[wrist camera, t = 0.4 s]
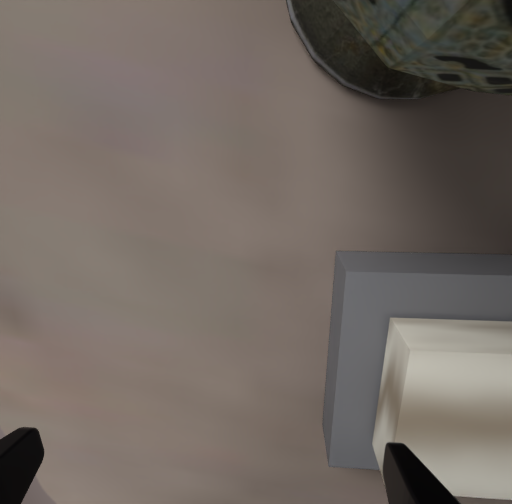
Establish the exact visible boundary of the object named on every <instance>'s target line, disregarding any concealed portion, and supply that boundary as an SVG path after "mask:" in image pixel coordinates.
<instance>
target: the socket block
mask: <svg viewBox="0 0 512 504" xmlns="http://www.w3.org/2000/svg"><path fill="white" fill-rule="evenodd" d="M390 318H420V319H450V320H481V321H511V322H512V255H509V254H459V253H409V252H358V251H336V257H335V270H334V283H333V296H332V309H331V322H330V334H329V347H328V360H327V373H326V386H325V399H324V411H323V431H324V438H325V445H326V452H327V459H328V466H329V467H342V468H358V469H374V470H380V469H379V465H378V462H377V459H376V455H375V452H374V449H373V445H372V442H373V434H374V427H375V420H376V413H377V406H378V399H379V392H380V385H381V378H382V371H383V364H384V357H385V350H386V343H387V336H388V329H389V321H390Z"/></svg>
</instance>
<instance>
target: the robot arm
mask: <svg viewBox="0 0 512 504" xmlns="http://www.w3.org/2000/svg"><path fill="white" fill-rule="evenodd" d="M43 457H44V448H43V444H42V441H41V437H40V434H39V431H38V430H37V429H36V428H30V427H22V428H18V429H17V430H15V431H13V432H12V433H10V434H8V435H7V436H5V437H3V438H2V439H0V504H21V502H22V500H23V498H24V496H25V494H26V493H27V491H28V489H29V486H30V484H31V483H32V481H33V479H34V477H35V475H36V473H37V471H38V469H39V467H40V465H41V463H42V460H43ZM383 478H384V483H385V487H386V492H387V497H388V501H389V504H461V503H460V502H459V501H458V500H457V499H456V498H455V497H454V496H453V495H452V494H451V493H450V492H449V490H448V489H447V488H446V487H445V486H444V485H443V484H442V483H441V482H440V481H439V480H438V479H437V478H436V477H435V476H434V474H433V473H432V472H431V471H430V470H429V469H428V468H427V467H426V466H425V465H424V464H423V463H422V462H421V461H420V459H419V458H418V457H417V456H416V455H415V454H414V453H413V452H412V451H411V450H410V449H409V448H408V447H407V446H406V445H405V444H404V443H398V442H388V443H386V446H385V452H384V460H383Z"/></svg>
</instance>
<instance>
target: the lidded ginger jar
mask: <svg viewBox="0 0 512 504" xmlns="http://www.w3.org/2000/svg"><path fill="white" fill-rule="evenodd" d="M286 3H287V7H288V11H289V15H290V20H291V23H292V25H293V26H294V28H295V30H296V32H297V33H298V35H299V37H300V38H301V40H302V42H303V44H304V45H305V47H306V49H307V51H308V52H309V54H310V56H311V57H312V59H313V60H314V61H315V62H316V63H317V64H319V65H320V66H321V67H322V68H323V69H324V70H326V71H327V72H328V73H329V74H330V75H331V76H332V77H334V78H335V79H336V80H337V81H338V82H339V83H340V84H342V85H343V86H346V87H349V88H351V89H354V90H356V91H359V92H362V93H364V94H367V95H370V96H372V97H375V98H378V99H421V98H424V97H428V96H432V95H436V94H440V93H444V92H447V91H451V90H455V89H459V88H463V89H467V90H471V91H477V92H486V93H495V94H504V95H512V0H286Z"/></svg>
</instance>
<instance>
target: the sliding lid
mask: <svg viewBox="0 0 512 504" xmlns="http://www.w3.org/2000/svg"><path fill="white" fill-rule="evenodd" d="M388 442H398V443H404V444H405V445H406V446H407V447H408V448H409V449H410V450H411V451H412V452H413V453H414V454H415V455H416V456H417V457H418V458H419V459H420V461H421V462H422V463H423V464H424V465H425V466H426V467H427V468H428V469H429V470H430V471H431V472H432V473H433V474H434V476H435V477H436V478H437V479H438V480H439V481H440V482H441V483H442V484H443V485H444V486H445V487H446V488H447V489H448V490H449V492H450V493H451V494H452V495H453V496H461V497H476V498H490V499H505V500H512V322H511V321H481V320H450V319H420V318H390V321H389V329H388V336H387V343H386V350H385V357H384V364H383V371H382V378H381V385H380V392H379V399H378V406H377V413H376V420H375V427H374V434H373V442H372V445H373V449H374V452H375V455H376V459H377V462H378V465H379V469H380V472H381V475H382V479H383V482H384V478H383V460H384V452H385V446H386V443H388ZM384 485H385V483H384ZM385 489H386V487H385Z"/></svg>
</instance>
